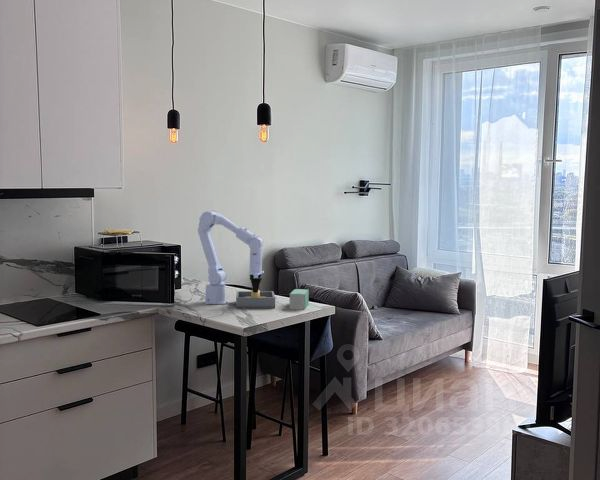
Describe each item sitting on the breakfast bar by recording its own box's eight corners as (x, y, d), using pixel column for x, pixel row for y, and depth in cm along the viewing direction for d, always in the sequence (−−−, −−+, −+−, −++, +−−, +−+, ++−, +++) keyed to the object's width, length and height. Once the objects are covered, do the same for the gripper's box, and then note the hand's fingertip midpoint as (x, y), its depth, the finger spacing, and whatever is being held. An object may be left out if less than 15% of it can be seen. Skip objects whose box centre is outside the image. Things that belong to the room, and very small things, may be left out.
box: (308, 304, 292) (309, 288, 291) (304, 310, 279) (305, 294, 278) (293, 303, 293) (294, 288, 292) (289, 309, 280) (289, 293, 279)
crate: (236, 308, 279) (236, 297, 278) (236, 301, 295) (236, 291, 294) (275, 308, 281) (275, 297, 280) (273, 301, 297) (273, 291, 296)
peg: (251, 303, 285) (251, 291, 285) (251, 301, 289) (251, 289, 289) (259, 303, 286) (259, 290, 285) (259, 301, 290) (259, 289, 289)
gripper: (264, 264, 279) (264, 293, 280) (263, 260, 293) (263, 288, 295) (249, 264, 278) (249, 293, 280) (249, 260, 293) (248, 288, 294)
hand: (255, 290), depth 287 cm, fingers open, 7 cm apart
